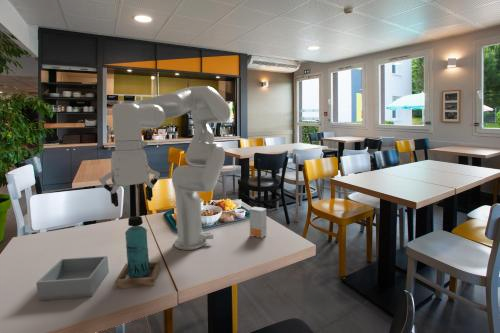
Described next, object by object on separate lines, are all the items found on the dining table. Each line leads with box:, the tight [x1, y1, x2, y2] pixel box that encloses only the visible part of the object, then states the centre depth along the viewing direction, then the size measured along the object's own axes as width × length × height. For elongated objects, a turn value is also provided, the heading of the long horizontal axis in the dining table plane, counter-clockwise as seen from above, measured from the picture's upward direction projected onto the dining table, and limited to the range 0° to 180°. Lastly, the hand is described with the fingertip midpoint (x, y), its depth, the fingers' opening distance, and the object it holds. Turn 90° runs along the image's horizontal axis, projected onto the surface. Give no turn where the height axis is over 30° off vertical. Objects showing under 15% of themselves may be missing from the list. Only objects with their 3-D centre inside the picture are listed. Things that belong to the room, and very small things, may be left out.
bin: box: [36, 255, 110, 302], centre depth 91 cm, size 14×14×6 cm
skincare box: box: [249, 206, 267, 239], centre depth 126 cm, size 6×4×12 cm
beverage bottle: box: [124, 215, 150, 278], centre depth 94 cm, size 6×7×20 cm
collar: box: [114, 260, 161, 290], centre depth 95 cm, size 11×11×2 cm
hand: (132, 202), depth 91 cm, fingers open, 9 cm apart
